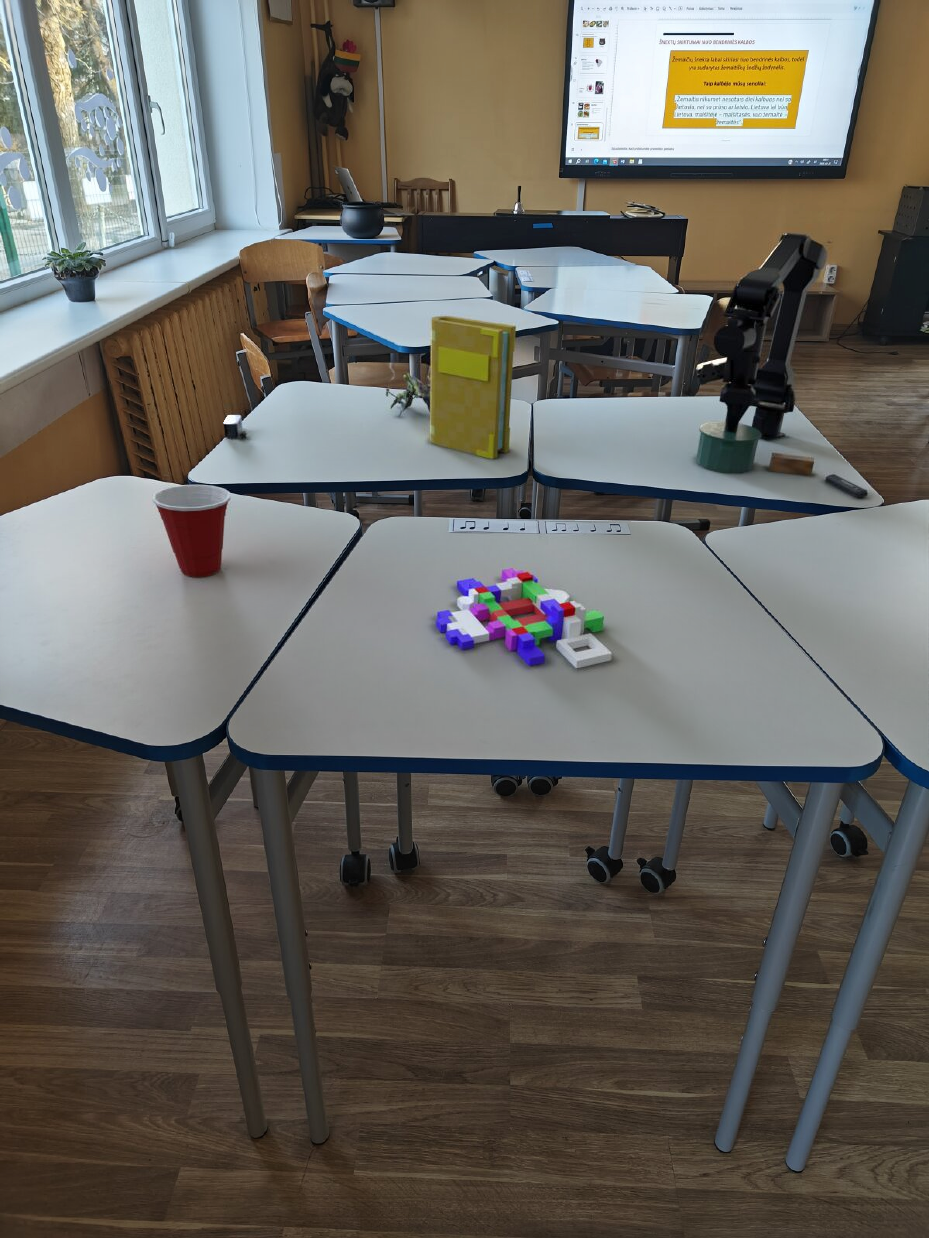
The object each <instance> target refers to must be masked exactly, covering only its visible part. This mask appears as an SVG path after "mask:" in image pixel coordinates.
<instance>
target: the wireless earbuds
mask: <svg viewBox="0 0 929 1238" xmlns="http://www.w3.org/2000/svg"><path fill="white" fill-rule="evenodd" d="M223 431H224V437H225V438H226V439H238V438H240V439H241V440H246V439H247V437H248V436H247V435H248V433H247V431H245V430H243V421H242V415H240V414H229V415H227V417H226V418H225V420H224V422H223Z"/></svg>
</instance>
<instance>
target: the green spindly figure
mask: <svg viewBox="0 0 929 1238" xmlns="http://www.w3.org/2000/svg"><path fill="white" fill-rule="evenodd" d="M426 376H427V377H426V378H427V379H428V382H429V383H428V385H427V384H424V383H423V382H422V380H420V379H419V378H417V377H416V375H414V374H413V375H411V373H409V372H407V373H406V374H404V375H403V379H404V381H405V382H406V383H407V387H405V389H404V390H403V391H402V393H400V392H399V393H397V394H396V395H394V394H393V393H392V392H390V388H385V396H386V397H389V394H390V396H393V397H394V399H393V402H392V403H391V405H390V410H391V409H393V408H394V407H395V406H396V404H398V405H400V412H399V414H398V418H400V416H401V415H402V413H403V412H404V411H405V410H407V409H408V408H410V407H411V406H412V404H413V401H414V399H422V400H423V401H422V402H424V404H426V406H427V409H428V412H429V413H430V391H431V375H426Z"/></svg>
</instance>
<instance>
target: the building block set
mask: <svg viewBox="0 0 929 1238" xmlns="http://www.w3.org/2000/svg"><path fill="white" fill-rule="evenodd" d="M501 581H502V582H497V583H495V584H493V585H488V586H485V585H484V584H483V583H482V581H480V580H479V581H477V580H476V579H475V578H474V577H471V578H466V579H460V580H457V581H456V589H457V590H458V591H459V592H460V593H461V594H462V595H461V596H459V597H457V600H456V606H457V607H458V608H459V609H460V610H458V611H453V612H451V611H450V610H449V609H446V610H441V611H437V612H436V620H435V621H436V622H435V627H436V629H438V631H439V632H440V633H444V632H445V640H446V641H447V642H448V644H449V645H457V646H458V647H459V648H460V650H461V651H463V650H468V649H473V648H475V647H474V646H475V644H479V643H485V642H490V641H494V640H498V639H504V638H505V640H504V641H505V642H504V645H505V646H506V648H507V649H508V650H509V651H510V652H513V651H517V652H516V653H517V655H518V656H519V657H520V658H521V659H522V660H523V661H524V663H526V665H527V666H528V667H531V666H535V665H540V664H544V663H545V661H546V654H545V653H544V652H543V651H542V650H541V649H540V648H539V647H538V646H540V642H541V641H540V639H543V638H545V639H547V640H548V641H549V642H550V643H552V642H556V646H555V649H556V650H557V651H558V652H559V653H560V654H561V655H562V656H563V657H564V658H565V659H566V660H567V661H568V662H569V663H571V665H572V666H573V667H574V668H575V669H580V668H584V667H589V666H593V665H598V664H603V663H606V662H611V661H612V655H613V653H612V652H611V651H610V650H609V648H607V647H606V646H605V645H604V644H603V643H602V642H601V641H600V640H599V639H597V638H596V637H595V635H594V634H592V633H597V632H602V631H603V629H604V621H605V620H604V618H605V616H604V615H603V614H602V613H601V612H600V611H599V610H594V609H593V610H589V611H587V608H586V607H584V605H582V604H581V603H580V602H577V601H576V600H572V601H570V597H571V596H570V595H569V594H568V593H567V592H566V591H565V590H561V589H560V590H559V589H551V588H544V587H542V586H541V585H540V584H539V579H538V578H537V577H536V576H535V575H534V574H533V573H532V574H531V573H530V572H529V571H524V570H523V569H522V570H521V569H520V570H515V569H514V568H513V567H512V568H506V569H501ZM501 598H507V599H508V601H504V602H501ZM528 613H534V615H529V616H525V617H520V618H515V619H513V618H512V617H514V616H518V615H524V614H528ZM486 620H489V622H488V625H487V626H484V625H483V624H482V623H481V622H482V621H486ZM585 629H588V630H589V631H590V632H591V633H586V634H584V632H585V631H584V630H585ZM587 646H588V647H589V649H584V650H581V651H575V649H578V648H582V647H587Z"/></svg>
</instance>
